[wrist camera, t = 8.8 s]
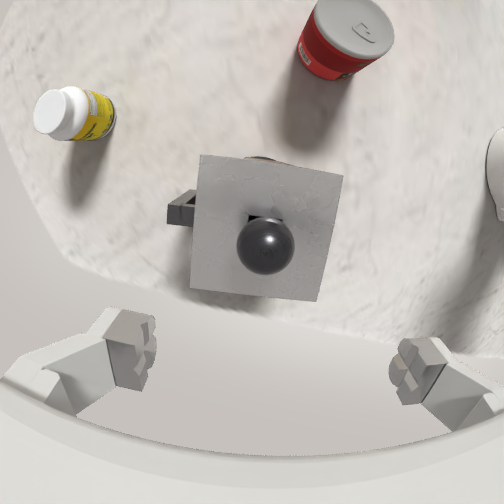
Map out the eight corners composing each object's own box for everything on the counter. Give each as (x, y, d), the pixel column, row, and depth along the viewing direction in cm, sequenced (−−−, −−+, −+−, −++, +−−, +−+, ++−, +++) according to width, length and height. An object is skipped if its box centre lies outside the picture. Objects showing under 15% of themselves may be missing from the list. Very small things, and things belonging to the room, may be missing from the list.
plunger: (292, 177, 31) (337, 206, 15) (283, 235, 33) (312, 313, 17) (231, 169, 31) (212, 188, 15) (224, 228, 33) (202, 301, 17)
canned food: (342, 93, 30) (379, 73, 20) (284, 61, 29) (300, 26, 18) (365, 50, 28) (405, 21, 17) (311, 19, 26) (333, -22, 16)
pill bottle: (83, 147, 31) (31, 151, 21) (76, 106, 29) (25, 99, 19) (122, 131, 31) (75, 127, 21) (114, 88, 29) (68, 71, 19)
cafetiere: (306, 163, 33) (346, 173, 19) (292, 245, 36) (317, 304, 22) (199, 149, 32) (164, 149, 18) (191, 233, 36) (157, 285, 22)
